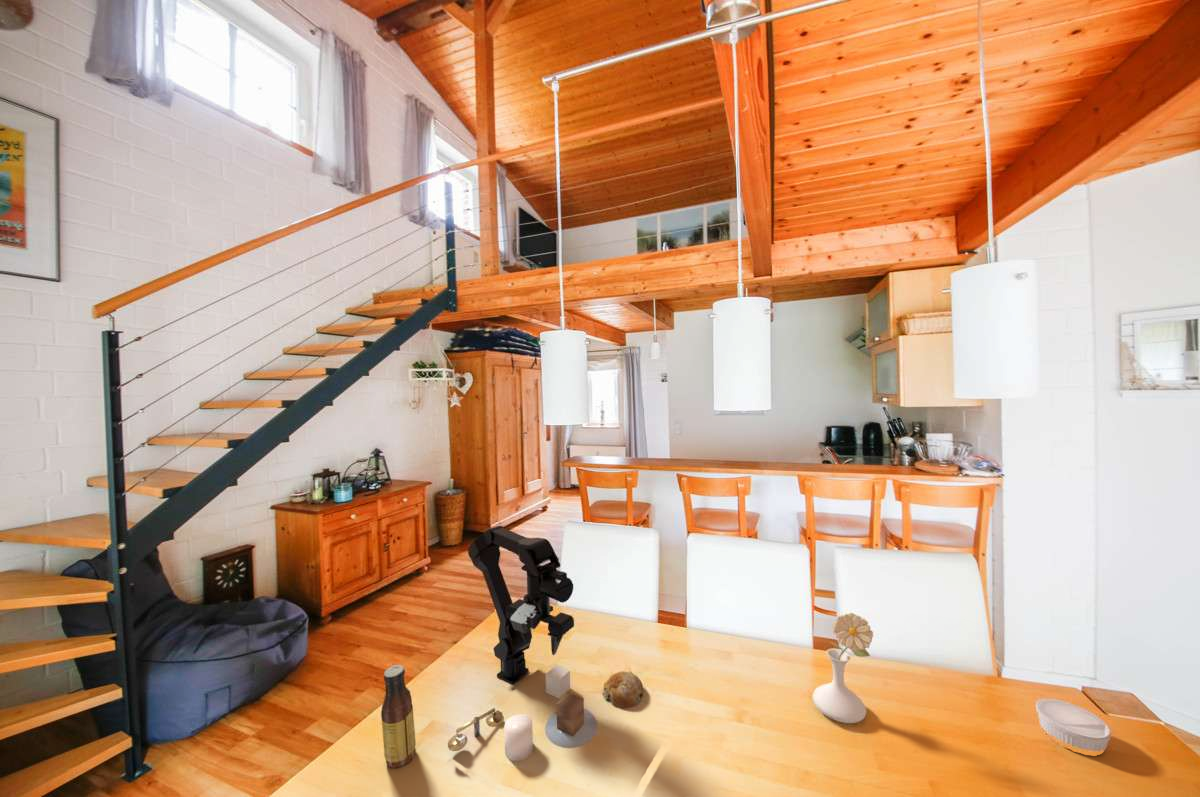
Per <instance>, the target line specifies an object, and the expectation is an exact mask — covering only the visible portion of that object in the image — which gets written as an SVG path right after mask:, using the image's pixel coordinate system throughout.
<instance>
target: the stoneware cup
mask: <svg viewBox="0 0 1200 797" xmlns="http://www.w3.org/2000/svg"><path fill="white" fill-rule="evenodd" d="M503 730H504V732H503V733H504V753H505V757H506V758H507V759H508V760H509V761H512V762H521V761H523V760H526V759H527V758H529V757H530V755H531V754H532V752H533V750H534V738H533V737H534V736H533V735H534V734H533V720H532V718H531V716H529V715H528V714H525V713H518V714H514V715H512V716H510V717H509V718H508V719H506V721H505V723H504V729H503Z"/></svg>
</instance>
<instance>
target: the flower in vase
mask: <svg viewBox="0 0 1200 797" xmlns="http://www.w3.org/2000/svg"><path fill="white" fill-rule="evenodd" d="M834 622H835V623H833V625H834V626H833V629H832V632H833V633H834V636H835V638H837V642H838V643H839V644H840V645H841V646H844V649H843V648H841V646H839V645H838V644H836V643H835V642H832V641H831V640H829V639H828V638H826V640H827V641H828V642H829V643H830V644H831V645H833V646H834V647H835V648H829V649H827V650H826V655H827V657H828V658H829V660H830V662H831V665H832V674H833V675H832V681H831V682H829V683H824V684H821V685H819V686H818V687H816V688H815V689H814V691H813V693H812V696H811V698H812V701H813V703H814V705H815V707H816V708H817V709H818V710H819V711H820V712H821V713H822V714H823V715H825V716H826V717H828V718H830V719H831V720H835V721H837V722H841V723H844V724H856V723H860V722H862V720H864V718H865V717H867V716H866V715H867V708H866V707H865V703H864V702H863V700H862V699H861V698H859V696H858V695H857V694H856V693H855V692H854V691H852V690H851V689H849V688H848V687H847V686H846V684H845V676H844V675H845V667H846V664H847V663H848V662H849V661H850V660H851V656H850V655H849V653H848V652H846V651H847V649H849V650H850V651H851V652H852V653H853V654H854V656H857V657H861V658H863V657H864V658H865V657H870V656H871V654H870V653H869V652H868V651H867V649H869V648H870V646H871V644H872V641H873V638H874V631H873V630H871V626H870V625H869V622H868V620H866V619H865V618H864V617H862V616H860V615H858V614H857V615H856V614H855V613H853V612H849V613H843V614H841V615H838V616H837V618H836V621H834Z"/></svg>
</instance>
